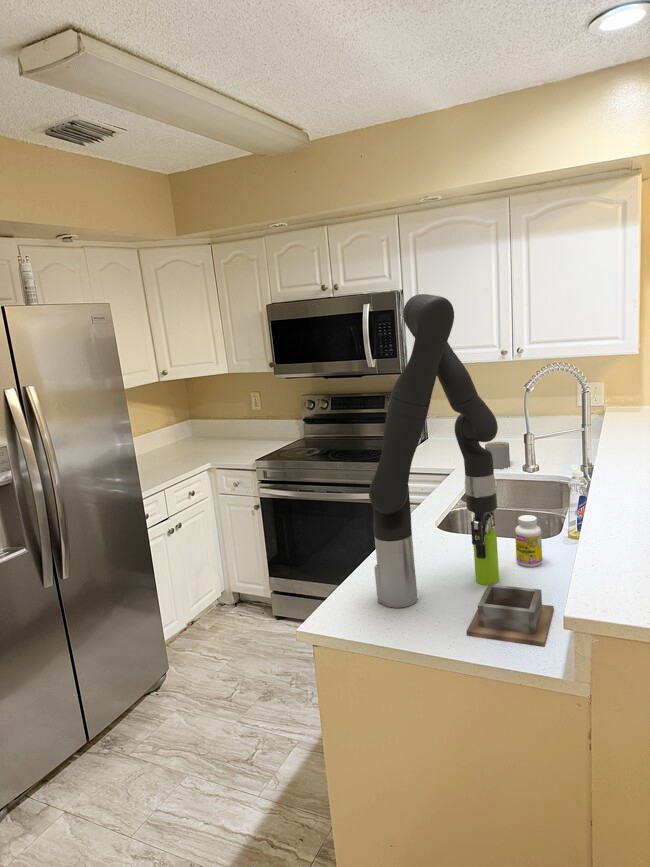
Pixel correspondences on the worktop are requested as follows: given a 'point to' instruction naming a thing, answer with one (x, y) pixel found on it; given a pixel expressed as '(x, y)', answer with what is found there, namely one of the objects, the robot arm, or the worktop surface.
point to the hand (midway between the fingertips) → (485, 551)
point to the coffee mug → (499, 454)
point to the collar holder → (512, 615)
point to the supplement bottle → (528, 542)
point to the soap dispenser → (488, 560)
